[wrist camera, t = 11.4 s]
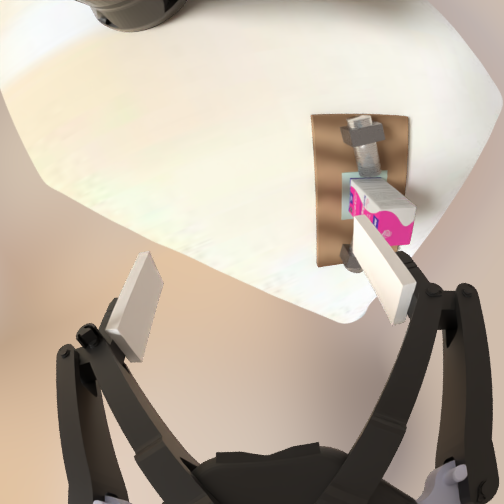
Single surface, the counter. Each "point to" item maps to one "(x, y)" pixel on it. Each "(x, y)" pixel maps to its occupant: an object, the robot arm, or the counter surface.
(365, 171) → the grey collared shaft
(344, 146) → the board
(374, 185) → the supplement box
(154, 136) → the counter surface
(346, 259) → the shaft
